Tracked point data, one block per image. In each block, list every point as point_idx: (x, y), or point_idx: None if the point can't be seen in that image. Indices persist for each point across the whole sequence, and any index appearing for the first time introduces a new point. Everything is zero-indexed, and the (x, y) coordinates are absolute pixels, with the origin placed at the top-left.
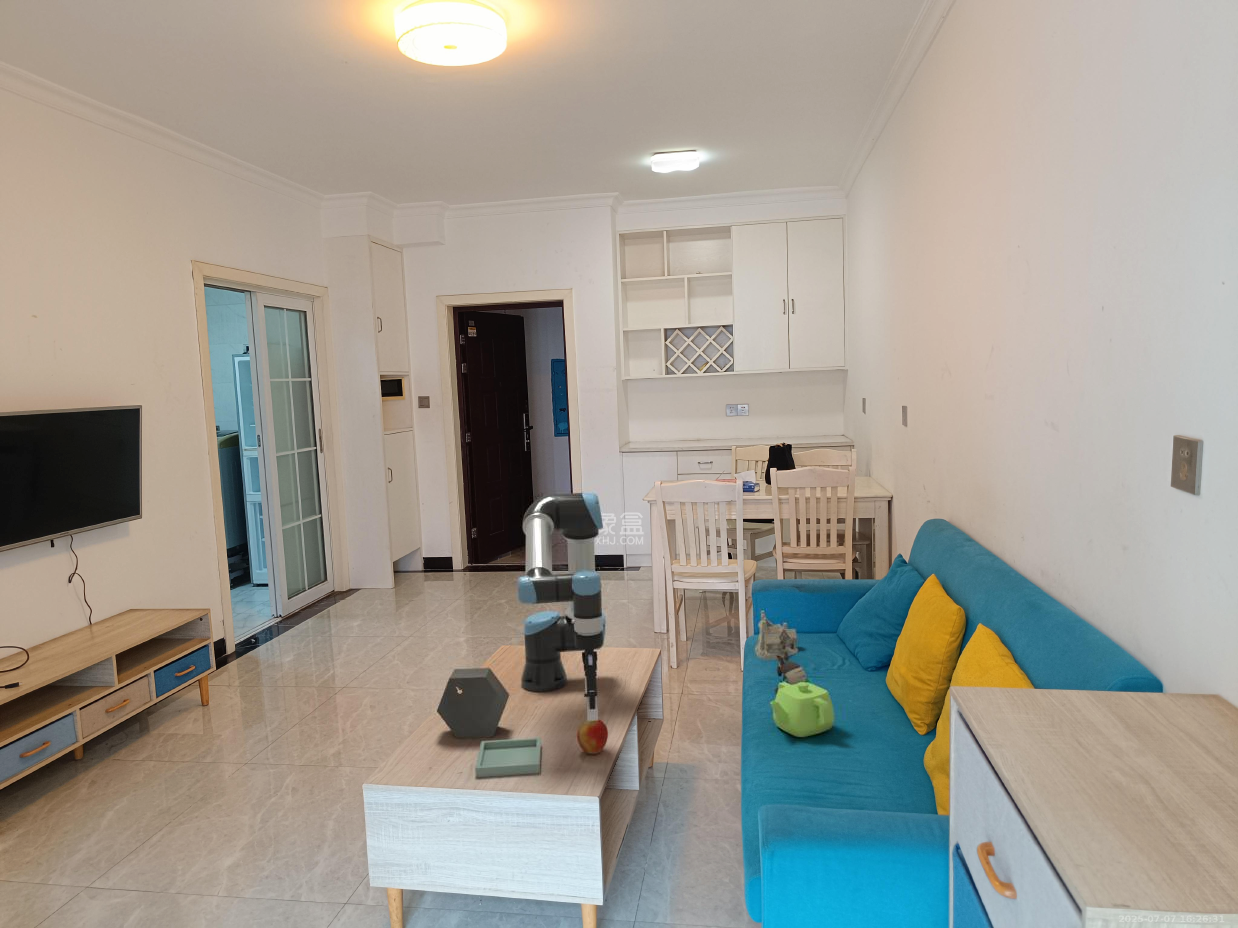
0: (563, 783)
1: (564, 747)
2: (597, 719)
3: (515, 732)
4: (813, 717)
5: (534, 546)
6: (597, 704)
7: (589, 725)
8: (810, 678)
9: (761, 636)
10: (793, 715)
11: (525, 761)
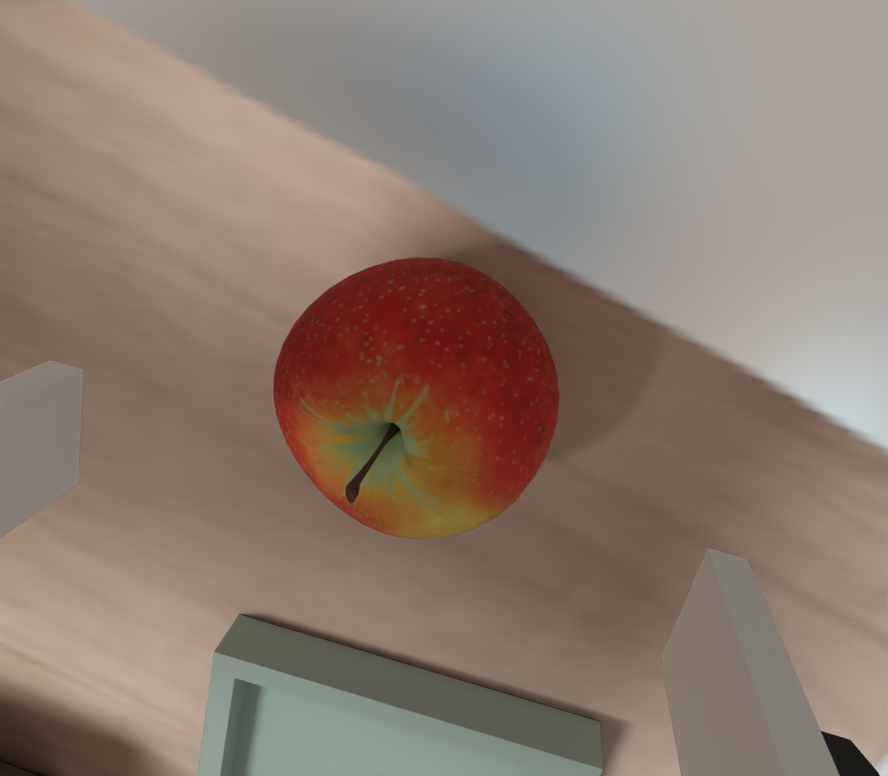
0: (809, 654)
1: (305, 501)
2: (747, 572)
3: (25, 678)
4: None
5: None
6: (815, 726)
7: (458, 487)
8: None
9: None
10: None
11: (444, 757)
